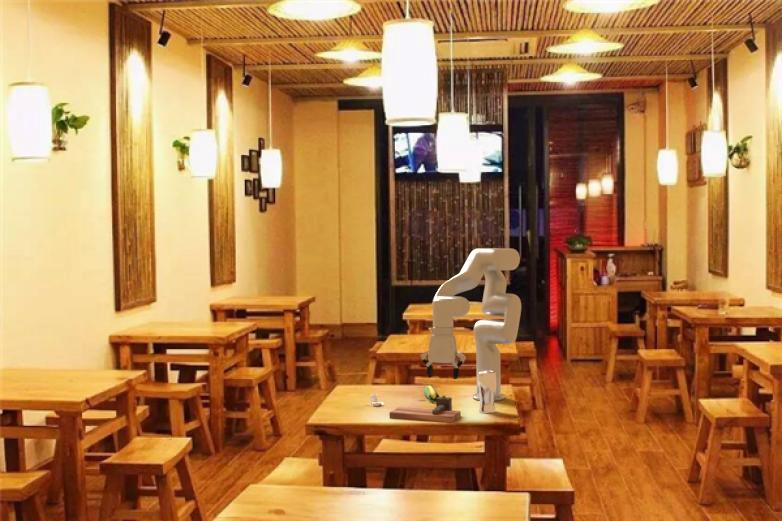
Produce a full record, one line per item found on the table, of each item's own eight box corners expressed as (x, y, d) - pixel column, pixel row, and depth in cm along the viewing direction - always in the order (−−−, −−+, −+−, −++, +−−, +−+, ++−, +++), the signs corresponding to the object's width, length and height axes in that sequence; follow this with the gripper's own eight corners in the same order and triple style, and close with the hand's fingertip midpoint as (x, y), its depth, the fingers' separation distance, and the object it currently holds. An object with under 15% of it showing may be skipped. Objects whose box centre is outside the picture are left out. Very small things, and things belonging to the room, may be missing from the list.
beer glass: (478, 413, 360) (477, 373, 359) (477, 409, 367) (477, 370, 366) (497, 413, 360) (496, 373, 359) (496, 409, 366) (495, 370, 366)
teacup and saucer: (381, 407, 375) (381, 397, 375) (361, 407, 376) (361, 396, 376) (386, 403, 383) (386, 393, 383) (366, 402, 385) (366, 392, 385)
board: (399, 412, 364) (399, 407, 364) (460, 416, 355) (460, 411, 355) (389, 417, 355) (389, 412, 355) (452, 422, 346) (452, 416, 346)
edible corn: (434, 394, 399) (434, 383, 398) (441, 404, 379) (441, 392, 379) (422, 394, 398) (422, 383, 398) (428, 404, 378) (428, 393, 378)
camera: (439, 412, 362) (438, 394, 362) (451, 413, 360) (451, 394, 360) (428, 420, 351) (428, 401, 351) (441, 421, 349) (441, 402, 349)
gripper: (417, 331, 358) (417, 378, 358) (462, 333, 352) (462, 380, 352) (424, 329, 365) (424, 375, 365) (468, 331, 359) (468, 377, 359)
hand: (443, 377), depth 359 cm, fingers open, 9 cm apart
